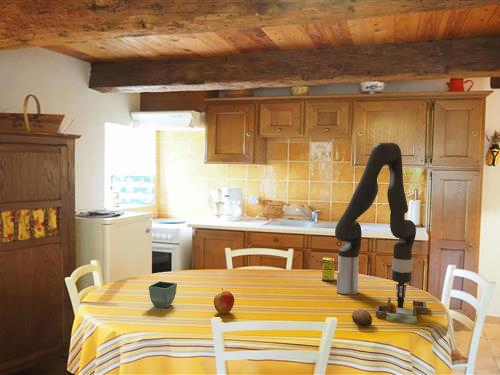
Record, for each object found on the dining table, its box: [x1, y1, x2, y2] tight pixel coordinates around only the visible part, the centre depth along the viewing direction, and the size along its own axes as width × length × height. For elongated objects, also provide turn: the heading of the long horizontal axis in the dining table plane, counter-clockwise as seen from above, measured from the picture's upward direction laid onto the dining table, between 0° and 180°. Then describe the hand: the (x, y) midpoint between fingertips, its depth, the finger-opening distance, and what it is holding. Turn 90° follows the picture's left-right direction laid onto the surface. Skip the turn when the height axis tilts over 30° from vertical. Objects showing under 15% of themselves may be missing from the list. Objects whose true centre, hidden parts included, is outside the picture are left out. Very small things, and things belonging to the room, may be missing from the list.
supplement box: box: [321, 257, 335, 282], centre depth 229 cm, size 6×6×11 cm
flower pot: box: [148, 280, 178, 309], centre depth 185 cm, size 9×9×9 cm
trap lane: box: [375, 297, 428, 325], centre depth 180 cm, size 19×22×2 cm
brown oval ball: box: [351, 308, 373, 329], centre depth 166 cm, size 8×8×6 cm
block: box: [395, 306, 413, 316], centre depth 174 cm, size 6×6×4 cm
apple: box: [213, 287, 235, 315], centre depth 177 cm, size 8×8×10 cm
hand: (400, 311), depth 182 cm, fingers closed
